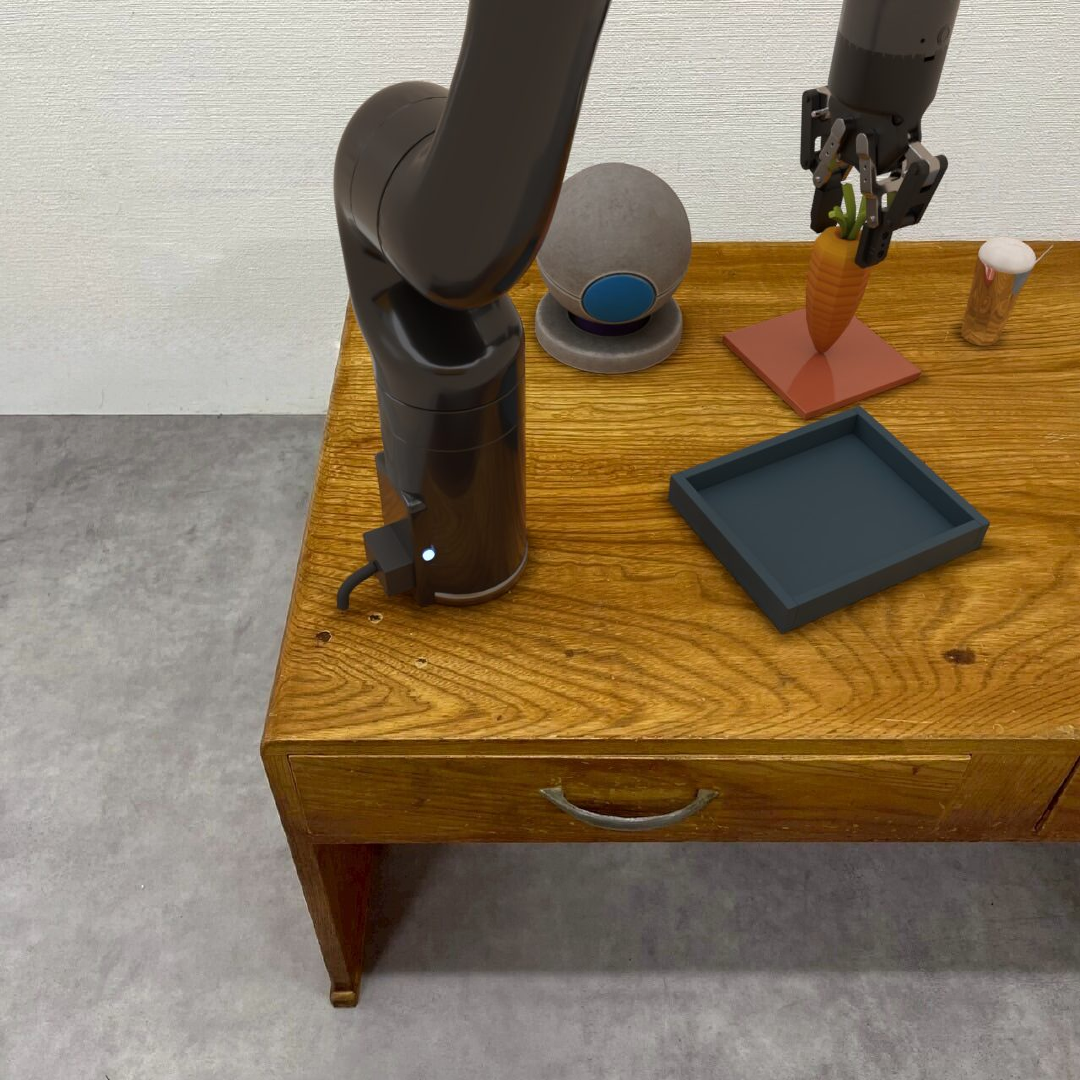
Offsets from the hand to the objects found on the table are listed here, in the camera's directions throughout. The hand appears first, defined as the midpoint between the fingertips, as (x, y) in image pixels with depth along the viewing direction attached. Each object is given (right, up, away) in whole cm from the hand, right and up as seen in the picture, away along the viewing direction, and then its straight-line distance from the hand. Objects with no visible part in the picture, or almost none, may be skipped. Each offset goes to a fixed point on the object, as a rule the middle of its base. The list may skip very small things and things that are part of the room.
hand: (845, 245), depth 88 cm
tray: (-3, -22, -5) cm, 23 cm away
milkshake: (+15, -5, +11) cm, 19 cm away
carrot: (0, -7, +8) cm, 11 cm away
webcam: (-18, -5, +11) cm, 22 cm away
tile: (0, -8, +8) cm, 11 cm away
